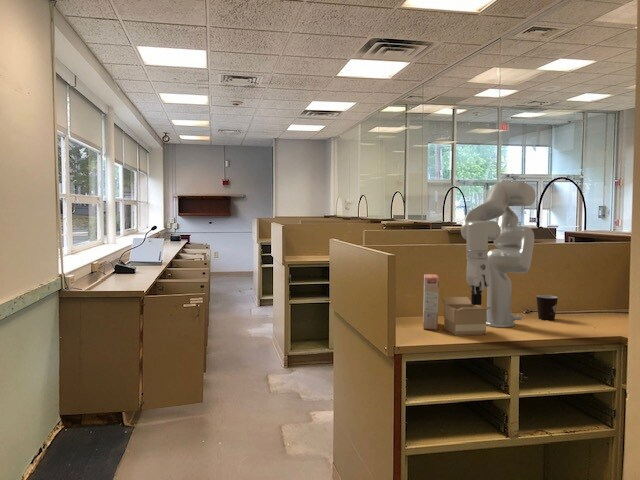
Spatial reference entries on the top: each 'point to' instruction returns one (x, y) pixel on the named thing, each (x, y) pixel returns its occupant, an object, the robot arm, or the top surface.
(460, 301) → the far flap
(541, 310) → the coffee mug
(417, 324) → the top surface
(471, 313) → the carton
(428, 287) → the cracker box
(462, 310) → the near flap
